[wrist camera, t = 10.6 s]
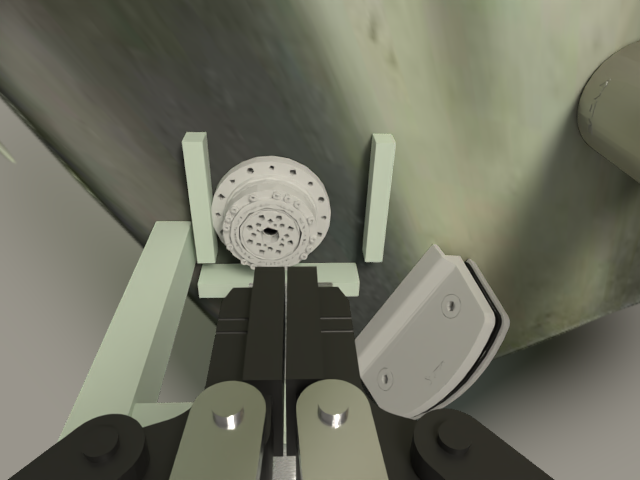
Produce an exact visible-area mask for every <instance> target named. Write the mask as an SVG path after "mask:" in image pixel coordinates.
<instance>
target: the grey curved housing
mask: <svg viewBox="0 0 640 480" xmlns="http://www.w3.org/2000/svg"><path fill="white" fill-rule="evenodd" d="M509 326H510V319H509V317H508V315H507V313H506V312H505V310H504V308H503V307H502V305H501V304H500V302H499V300H498V299H497V297H496V295H495V294H494V292H493V291H492V289H491V287H490V286H489V284H488V282H487V281H486V279H485V278H484V276H483V274H482V273H481V271H480V269H479V268H478V266H477V265H476V263H475V262H474V261H472V260H471V259H468V260H467V261H466V262H465V263H464V262H463V260H462V258H461V257H460V256H452V255H445V254H444V253H443V252H442V250H441V249H440V248H439V247H438V245H435V244H432V245H431V247H430V248H429V249H428V250H427V252H426V253H425V254H424V255H423V256H422V258H421V259H420V260H419V261H418V263H417V264H416V265H415V266H414V268H413V269H412V270H411V271H410V273H409V274H408V275H407V276H406V277H405V279H404V280H403V281H402V282H401V284H400V285H399V286H398V287H397V289H396V290H395V291H394V292H393V294H392V295H391V296H390V297H389V298H388V300H387V301H386V302H385V303H384V305H383V306H382V307H381V308H380V310H379V311H378V312H377V313H376V315H375V316H374V317H373V318H372V320H371V321H370V322H369V323H368V324H367V326H366V327H365V328H364V329H363V331H362V332H361V333H360V334H359V336H358V337H357V338H356V339H355V345H356V352H357V358H358V365H359V372H360V377H361V379H362V380H363V382H364V384H365V385H366V387H367V388H368V390H369V392H370V393H371V395H372V396H373V398H374V400H375V401H376V403H377V404H378V406H379V407H380V408H381V409H383V410H385V411H387V412H389V413H392V414H395V415H399V416H402V417H406V418H410V419H413V420H415V419H418V418H421V417H422V416H423V415H424V414H426V413H427V412H429V411H432V410H436V409H441V408H443V407H445V406H446V405H448V404H450V403H451V402H453V401H454V400H455V399H457V398H458V397H459V396H460V395H462V394H463V393H464V392H465V391H466V390H467V389H468V388H469V387H470V386H471V385H472V384H473V383H474V382H475V381H476V380H477V379H478V378H479V376H480V375H481V374H482V373H483V372H484V370H485V369H486V368H487V366H488V365H489V363H490V362H491V361H492V359H493V357H494V356H495V354H496V353H497V351H498V349H499V347H500V345H501V344H502V342H503V340H504V338H505V335H506V333H507V331H508V329H509Z"/></svg>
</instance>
